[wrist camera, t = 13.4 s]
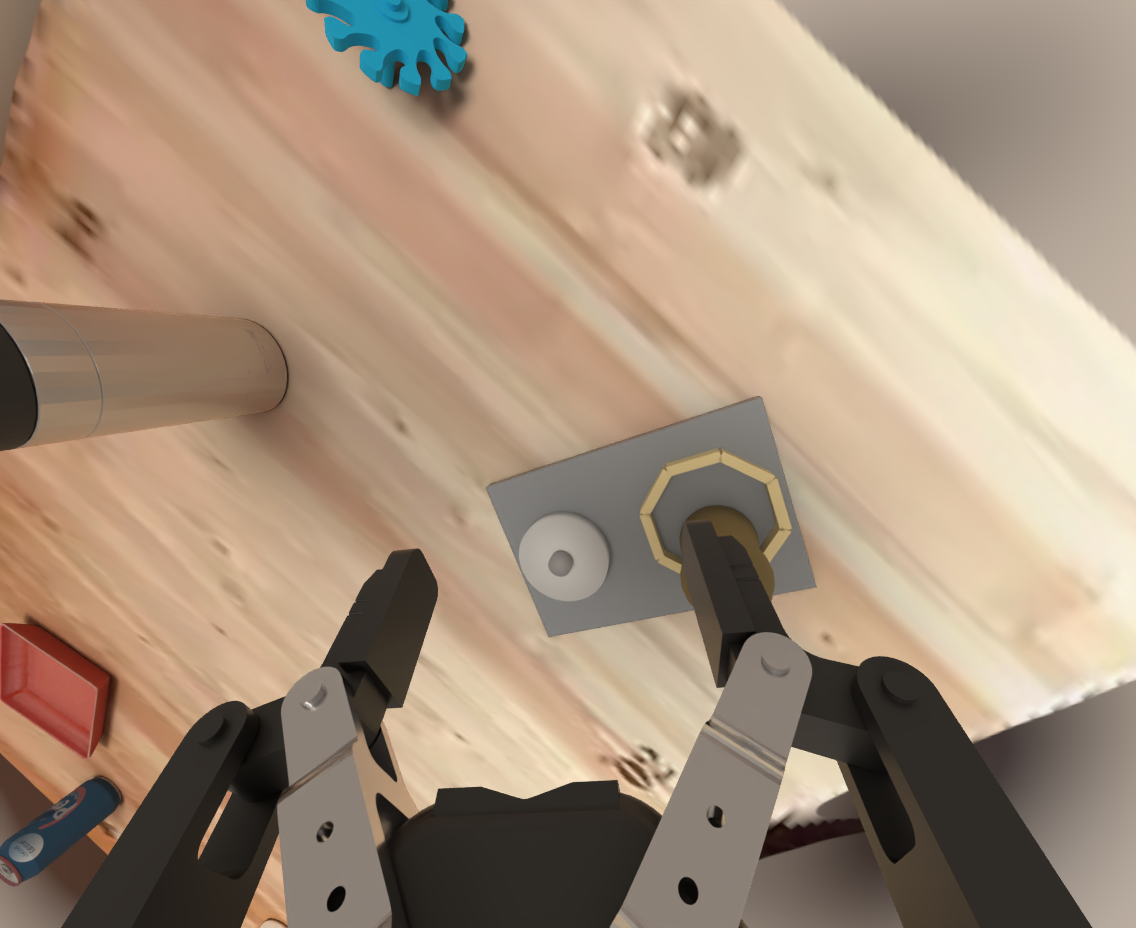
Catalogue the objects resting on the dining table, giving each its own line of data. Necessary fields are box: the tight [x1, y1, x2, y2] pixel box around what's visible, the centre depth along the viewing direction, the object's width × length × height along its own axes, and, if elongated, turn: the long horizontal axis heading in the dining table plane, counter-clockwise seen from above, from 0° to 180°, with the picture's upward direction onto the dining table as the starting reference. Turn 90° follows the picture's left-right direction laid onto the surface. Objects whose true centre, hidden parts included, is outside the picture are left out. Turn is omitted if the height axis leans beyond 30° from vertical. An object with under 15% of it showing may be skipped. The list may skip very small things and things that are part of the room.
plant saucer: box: [0, 623, 110, 760], centre depth 64 cm, size 18×18×3 cm
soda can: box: [0, 777, 122, 886], centre depth 65 cm, size 7×7×12 cm
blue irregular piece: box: [306, 0, 467, 96], centre depth 29 cm, size 11×6×10 cm
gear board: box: [486, 396, 816, 637], centre depth 35 cm, size 24×16×4 cm, turn 111°
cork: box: [679, 505, 775, 607], centre depth 28 cm, size 6×6×11 cm
